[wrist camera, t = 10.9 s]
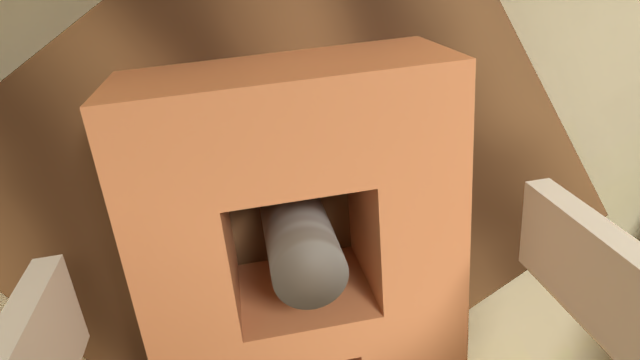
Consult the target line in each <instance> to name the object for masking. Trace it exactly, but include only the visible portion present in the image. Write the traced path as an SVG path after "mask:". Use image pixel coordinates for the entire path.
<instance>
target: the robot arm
mask: <svg viewBox="0 0 640 360" xmlns="http://www.w3.org/2000/svg"><path fill="white" fill-rule="evenodd" d="M519 261H520V262H521V264H522V265H523V266H524V267H525V268H526V269H527V270H528V271H529V272H530V273H531V274H532V275H533V276H534V277H535V278H536V279H537V280H538V281H539V282H540V283H541V285H542V286H543V287H544V288H545V289H546V290H547V291H548V292H549V293H550V294H551V295H552V296H553V297H554V298H555V299H556V300H557V301H558V302H559V303H560V304H561V305H562V307H563V308H564V309H565V310H566V311H567V312H568V313H569V314H570V315H571V316H572V317H573V318H574V319H575V320H576V321H577V322H578V323H579V324H580V325H581V326H582V327H583V329H584V330H585V331H586V332H587V333H588V334H589V335H590V336H591V337H592V338H593V339H594V340H595V341H596V342H597V343H598V344H599V345H600V346H601V347H602V348H603V350H604V351H605V352H606V353H607V354H608V355H609V356H610V357H611V358H612V359H613V360H640V241H639V240H637V239H636V238H634V237H633V236H632V235H630V234H629V233H627V232H626V231H624V230H623V229H622V228H620V227H619V226H617V225H616V224H614V223H613V222H612V221H610V220H609V219H607V218H606V217H604V216H603V215H602V214H600V213H599V212H597V211H596V210H594V209H593V208H592V207H590V206H589V205H587V204H586V203H584V202H583V201H582V200H580V199H579V198H577V197H576V196H574V195H573V194H572V193H570V192H569V191H567V190H566V189H564V188H563V187H562V186H560V185H559V184H557V183H556V182H554V181H553V180H552V179H550V178H545V179H539V180H532V181H526V182H525V189H524V202H523V214H522V226H521V239H520V251H519ZM89 337H90V335H89V332H88V329H87V326H86V323H85V320H84V317H83V314H82V311H81V308H80V305H79V302H78V299H77V296H76V293H75V290H74V287H73V284H72V281H71V278H70V275H69V272H68V269H67V266H66V263H65V260H64V257H63V254H61V255H54V256H48V257H42V258H35V259H32V260H31V262H30V264H29V265H28V267H27V269H26V270H25V272H24V274H23V275H22V277H21V279H20V280H19V282H18V284H17V285H16V287H15V289H14V290H13V292H12V294H11V295H10V297H9V299H8V300H7V302H6V304H5V305H4V307H3V309H2V310H1V312H0V360H82V358H83V355H84V352H85V349H86V346H87V343H88V340H89Z"/></svg>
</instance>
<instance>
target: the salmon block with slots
mask: <svg viewBox="0 0 640 360" xmlns="http://www.w3.org/2000/svg"><path fill="white" fill-rule="evenodd" d="M475 79H476V58H474V57H471V56H469V55H466V54H463V53H461V52H458V51H456V50H453V49H451V48H448V47H445V46H443V45H440V44H438V43H435V42H432V41H430V40H427V39H425V38H422V37H419V36H412V37H404V38H395V39H387V40H378V41H370V42H361V43H353V44H344V45H335V46H327V47H318V48H310V49H301V50H293V51H284V52H276V53H267V54H258V55H250V56H241V57H233V58H224V59H216V60H207V61H199V62H190V63H181V64H173V65H164V66H156V67H147V68H139V69H130V70H122V71H113V72H112V73H111V75H110V76H109V77H108V78H107V79H106V80H105V81H104V82H103V83H102V84H101V85H100V86H99V87H98V88H97V89H96V90H95V92H94V93H93V94H92V95H91V96H90V97H89V98H88V99H87V100H86V101H85V102H84V103H83V104H82V105H81V106H80V112H81V115H82V119H83V123H84V126H85V130H86V134H87V138H88V141H89V145H90V149H91V152H92V156H93V160H94V163H95V167H96V171H97V174H98V178H99V182H100V185H101V189H102V193H103V196H104V200H105V204H106V207H107V211H108V215H109V218H110V222H111V226H112V229H113V233H114V237H115V240H116V244H117V248H118V252H119V255H120V259H121V263H122V266H123V270H124V274H125V277H126V281H127V285H128V288H129V292H130V296H131V299H132V303H133V307H134V310H135V314H136V318H137V321H138V325H139V329H140V332H141V336H142V340H143V343H144V347H145V351H146V354H147V358H148V360H467V350H468V316H469V282H470V248H471V214H472V180H473V147H474V113H475ZM347 193H348V206H349V220H350V234H351V246H350V247H344V248H341V249H342V252H343V254H344V256H345V259H346V261H347V264H348V268H349V278H348V282H347V285H346V287H345V289H344V291H343V292H342V293H341V295H340V296H339V297H338V298H337V299H335V300H334V301H333V302H331V303H330V304H328V305H326V306H324V307H321V308H318V309H312V310H301V309H296V308H293V307H290V306H288V305H286V304H285V303H283V302H282V301H281V300H280V299H279V298H278V297H277V295H276V293H275V292H274V289H273V285H272V280H271V274H270V267H269V261H268V260H266V261H260V262H254V263H248V264H242V265H238V262H237V256H236V250H235V244H234V238H233V232H232V227H231V221H230V215H229V211H236V210H243V209H249V208H256V207H262V206H269V205H275V204H282V203H288V202H295V201H301V200H308V199H315V198H321V197H328V196H334V195H341V194H347Z"/></svg>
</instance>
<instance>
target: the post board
mask: <svg viewBox="0 0 640 360" xmlns="http://www.w3.org/2000/svg"><path fill="white" fill-rule="evenodd" d="M412 36H419V37H422V38H425V39H427V40H430V41H432V42H435V43H438V44H440V45H443V46H445V47H448V48H451V49H453V50H456V51H458V52H461V53H463V54H466V55H469V56H471V57H474V58H476V79H475V113H474V147H473V180H472V214H471V248H470V282H469V309H470V308H472V307H473V306H475V305H476V304H478V303H479V302H480V301H482V300H483V299H485V298H486V297H488V296H489V295H491V294H492V293H494V292H495V291H497V290H498V289H500V288H501V287H503V286H504V285H506V284H507V283H509V282H510V281H511V280H513V279H514V278H516V277H517V276H519V275H520V274H522V273H523V272H525V271H526V270H527V269H526V268H525V267H524V266H523V265H522V264H521V262H520V261H519V251H520V239H521V226H522V214H523V202H524V189H525V182H526V181H532V180H539V179H545V178H550V179H552V180H553V181H554V182H556V183H557V184H559V185H560V186H562V187H563V188H564V189H566V190H567V191H569V192H570V193H572V194H573V195H574V196H576V197H577V198H579V199H580V200H582V201H583V202H584V203H586V204H587V205H589V206H590V207H592V208H593V209H594V210H596V211H597V212H599V213H600V214H602V215H603V216H604V217H606V216H607V215H608V214H607V212H606V210H605V208H604V206H603V204H602V202H601V200H600V198H599V196H598V194H597V192H596V190H595V188H594V186H593V184H592V183H591V181H590V179H589V177H588V175H587V173H586V171H585V169H584V167H583V165H582V163H581V161H580V159H579V157H578V155H577V153H576V151H575V149H574V147H573V145H572V143H571V141H570V139H569V137H568V135H567V133H566V131H565V129H564V127H563V125H562V123H561V121H560V119H559V117H558V115H557V113H556V111H555V109H554V107H553V105H552V103H551V101H550V99H549V97H548V95H547V93H546V91H545V89H544V87H543V85H542V83H541V81H540V79H539V77H538V75H537V74H536V72H535V70H534V68H533V66H532V64H531V62H530V60H529V58H528V56H527V54H526V52H525V50H524V48H523V46H522V44H521V42H520V40H519V38H518V36H517V34H516V32H515V30H514V28H513V26H512V24H511V22H510V20H509V18H508V16H507V14H506V12H505V10H504V8H503V6H502V4H501V2H500V0H102V1H101V2H100V3H98V4H97V5H96V6H95V7H93V8H92V9H91V10H90V11H88V12H87V13H86V14H85V15H83V16H82V17H81V18H80V19H78V20H77V21H76V22H75V23H73V24H72V25H71V26H70V27H68V28H67V29H66V30H65V31H63V32H62V33H61V34H60V35H58V36H57V37H56V38H55V39H53V40H52V41H51V42H50V43H48V44H47V45H46V46H45V47H43V48H42V49H41V50H40V51H38V52H37V53H36V54H35V55H33V56H32V57H31V58H30V59H28V60H27V61H26V62H25V63H23V64H22V65H21V66H20V67H18V68H17V69H16V70H15V71H13V72H12V73H11V74H10V75H8V76H7V77H6V78H5V79H3V80H2V81H1V82H0V292H1V293H3V294H4V295H5V296H6V297H8V298H9V297H10V295H11V294H12V292H13V290H14V289H15V287H16V285H17V284H18V282H19V280H20V279H21V277H22V275H23V274H24V272H25V270H26V269H27V267H28V265H29V264H30V262H31V260H32V259H35V258H42V257H48V256H54V255H61V254H63V257H64V260H65V263H66V266H67V269H68V272H69V275H70V278H71V281H72V284H73V287H74V290H75V293H76V296H77V299H78V302H79V305H80V308H81V311H82V314H83V317H84V320H85V323H86V326H87V329H88V332H89V335H90V337H89V340H88V343H87V346H86V349H85V352H84V355H83V357H84V358H86V359H87V360H148V358H147V354H146V351H145V347H144V343H143V340H142V336H141V332H140V329H139V325H138V321H137V318H136V314H135V310H134V307H133V303H132V299H131V296H130V292H129V288H128V285H127V281H126V277H125V274H124V270H123V266H122V263H121V259H120V255H119V252H118V248H117V244H116V240H115V237H114V233H113V229H112V226H111V222H110V218H109V215H108V211H107V207H106V204H105V200H104V196H103V193H102V189H101V185H100V182H99V178H98V174H97V171H96V167H95V163H94V160H93V156H92V152H91V149H90V145H89V141H88V138H87V134H86V130H85V126H84V123H83V119H82V115H81V112H80V106H81V105H82V104H83V103H84V102H85V101H86V100H87V99H88V98H89V97H90V96H91V95H92V94H93V93H94V92H95V90H96V89H97V88H98V87H99V86H100V85H101V84H102V83H103V82H104V81H105V80H106V79H107V78H108V77H109V76H110V75H111V73H112V72H113V71H122V70H130V69H139V68H147V67H156V66H164V65H173V64H181V63H190V62H199V61H207V60H216V59H224V58H233V57H241V56H250V55H258V54H267V53H276V52H284V51H293V50H301V49H310V48H318V47H327V46H335V45H344V44H353V43H361V42H370V41H378V40H387V39H395V38H404V37H412ZM229 215H230V221H231V227H232V232H233V238H234V244H235V250H236V256H237V262H238V265H242V264H248V263H254V262H260V261H266V260H268V261H269V267H270V274H271V280H272V285H273V289H274V292H275V293H276V295H277V297H278V298H279V299H280V300H281V301H282V302H283V303H285V304H286V305H288V306H290V307H293V308H296V309H301V310H312V309H318V308H321V307H324V306H326V305H328V304H330V303H331V302H333V301H334V300H335V299H337V298H338V297H339V296H340V295H341V293H342V292H343V291H344V289H345V287H346V285H347V282H348V278H349V268H348V264H347V261H346V259H345V256H344V254H343V252H342V249H341V248H344V247H350V246H351V234H350V220H349V206H348V193H347V194H341V195H334V196H328V197H321V198H315V199H308V200H301V201H295V202H288V203H282V204H275V205H269V206H262V207H256V208H249V209H243V210H236V211H229Z"/></svg>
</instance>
